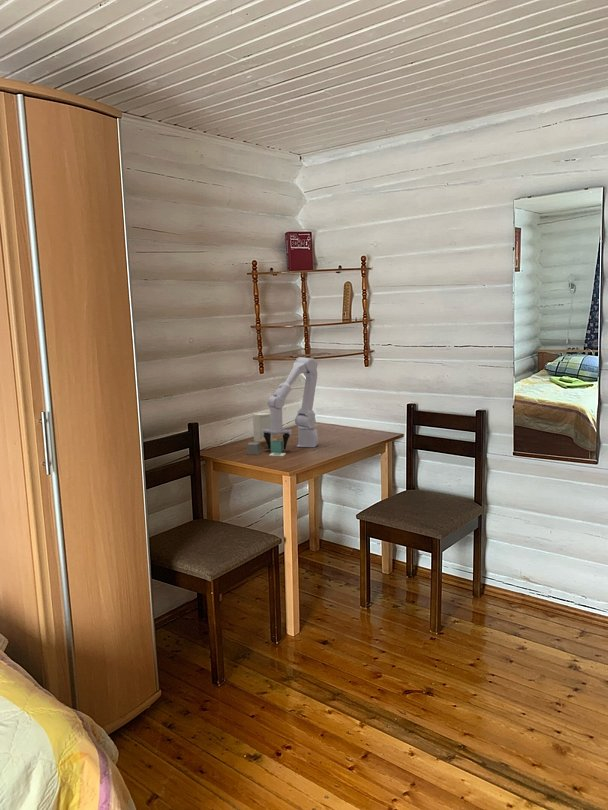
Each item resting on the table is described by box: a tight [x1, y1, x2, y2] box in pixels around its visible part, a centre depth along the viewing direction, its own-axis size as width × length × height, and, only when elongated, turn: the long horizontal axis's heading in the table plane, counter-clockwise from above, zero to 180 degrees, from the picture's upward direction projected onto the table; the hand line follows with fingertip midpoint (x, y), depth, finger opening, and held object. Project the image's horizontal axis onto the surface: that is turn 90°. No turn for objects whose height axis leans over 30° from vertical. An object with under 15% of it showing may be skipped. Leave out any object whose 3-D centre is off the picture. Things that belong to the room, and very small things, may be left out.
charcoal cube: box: [246, 441, 261, 456], centre depth 315 cm, size 5×5×5 cm
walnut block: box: [257, 437, 279, 450], centre depth 328 cm, size 8×8×4 cm
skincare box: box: [252, 412, 273, 442], centre depth 340 cm, size 8×6×15 cm
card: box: [268, 452, 287, 457], centre depth 311 cm, size 7×5×1 cm
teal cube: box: [270, 439, 285, 453], centre depth 318 cm, size 5×5×5 cm
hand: (277, 448), depth 318 cm, fingers open, 7 cm apart
